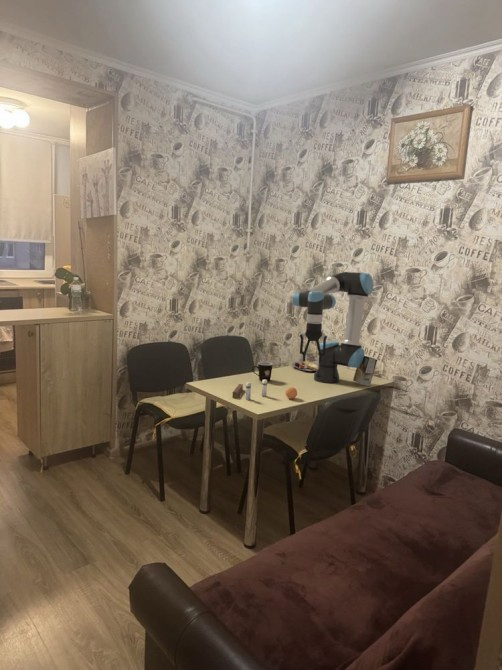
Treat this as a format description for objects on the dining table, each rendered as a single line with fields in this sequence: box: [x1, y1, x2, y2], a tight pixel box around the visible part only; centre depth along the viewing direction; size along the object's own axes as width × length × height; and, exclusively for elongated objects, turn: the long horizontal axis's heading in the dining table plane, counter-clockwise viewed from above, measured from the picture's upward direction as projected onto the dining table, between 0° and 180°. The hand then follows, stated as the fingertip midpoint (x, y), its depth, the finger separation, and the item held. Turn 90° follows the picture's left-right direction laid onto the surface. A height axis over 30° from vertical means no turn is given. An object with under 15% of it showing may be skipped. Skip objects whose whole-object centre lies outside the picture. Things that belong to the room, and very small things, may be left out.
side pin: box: [245, 381, 252, 401], centre depth 233 cm, size 2×2×8 cm
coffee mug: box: [251, 361, 274, 383], centre depth 271 cm, size 12×9×10 cm
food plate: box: [291, 359, 317, 372], centre depth 306 cm, size 25×23×4 cm
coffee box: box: [352, 355, 378, 387], centre depth 269 cm, size 9×6×16 cm
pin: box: [261, 380, 268, 398], centre depth 240 cm, size 2×2×8 cm
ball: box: [284, 386, 298, 400], centre depth 238 cm, size 6×6×6 cm
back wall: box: [232, 383, 244, 399], centre depth 243 cm, size 2×16×3 cm, turn 170°
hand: (311, 368), depth 234 cm, fingers open, 5 cm apart
